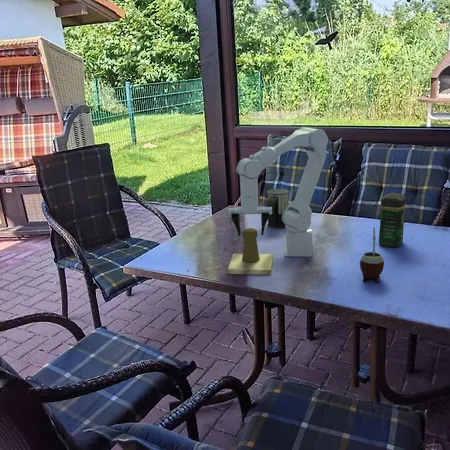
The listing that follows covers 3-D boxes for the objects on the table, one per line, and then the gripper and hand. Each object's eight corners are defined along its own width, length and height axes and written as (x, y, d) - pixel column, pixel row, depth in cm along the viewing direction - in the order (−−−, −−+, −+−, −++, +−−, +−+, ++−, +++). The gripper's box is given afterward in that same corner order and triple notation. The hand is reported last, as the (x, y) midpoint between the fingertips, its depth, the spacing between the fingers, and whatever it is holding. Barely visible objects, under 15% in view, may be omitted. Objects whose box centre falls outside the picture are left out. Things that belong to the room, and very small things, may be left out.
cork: (259, 262, 164) (258, 231, 160) (241, 263, 164) (240, 232, 161) (259, 256, 170) (258, 226, 166) (242, 256, 170) (241, 226, 167)
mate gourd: (369, 285, 147) (371, 238, 142) (352, 276, 154) (354, 231, 149) (389, 280, 149) (392, 234, 145) (372, 271, 156) (374, 227, 152)
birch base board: (273, 258, 171) (273, 254, 171) (270, 274, 158) (270, 270, 158) (233, 257, 174) (233, 253, 173) (227, 273, 160) (227, 269, 160)
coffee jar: (398, 249, 173) (402, 198, 167) (376, 246, 177) (378, 196, 171) (405, 240, 181) (408, 192, 175) (383, 238, 185) (385, 190, 179)
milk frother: (268, 222, 211) (267, 188, 206) (305, 221, 208) (305, 187, 203) (266, 232, 197) (265, 197, 193) (305, 232, 195) (305, 196, 190)
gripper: (271, 191, 163) (272, 230, 168) (228, 193, 165) (230, 231, 169) (271, 197, 157) (272, 237, 161) (226, 198, 158) (228, 238, 162)
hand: (250, 234), depth 165 cm, fingers open, 7 cm apart
